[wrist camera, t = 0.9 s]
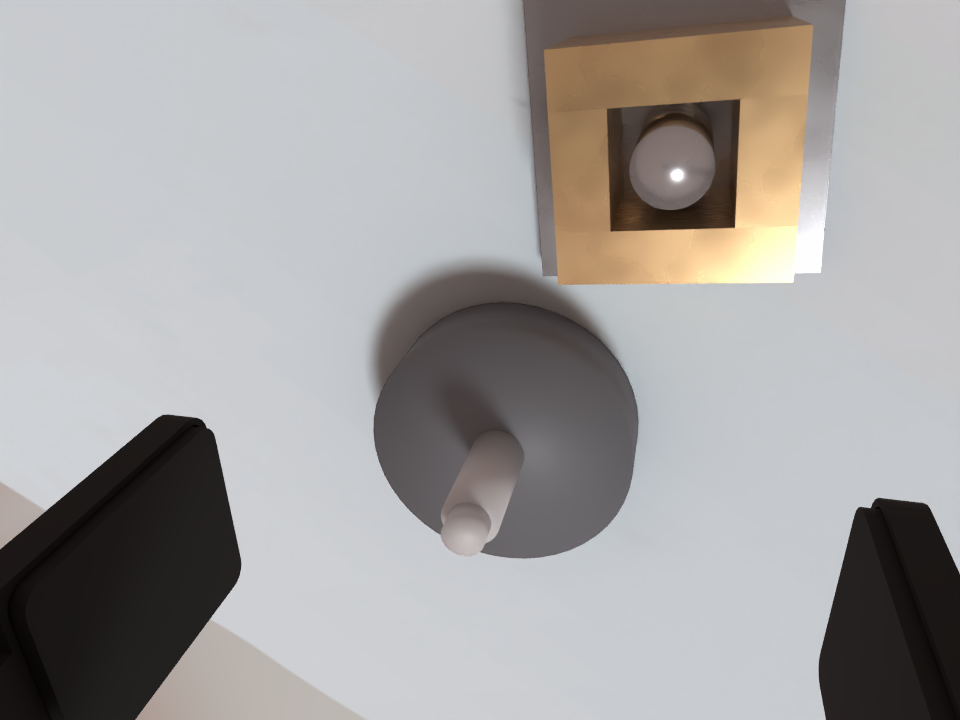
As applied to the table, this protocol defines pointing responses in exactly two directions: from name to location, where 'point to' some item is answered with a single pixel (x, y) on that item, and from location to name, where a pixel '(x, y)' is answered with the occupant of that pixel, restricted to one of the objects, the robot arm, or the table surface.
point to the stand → (688, 109)
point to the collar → (721, 210)
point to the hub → (508, 432)
